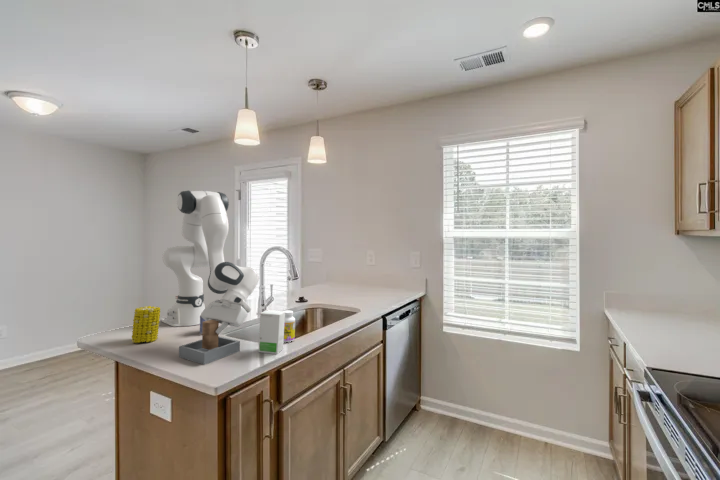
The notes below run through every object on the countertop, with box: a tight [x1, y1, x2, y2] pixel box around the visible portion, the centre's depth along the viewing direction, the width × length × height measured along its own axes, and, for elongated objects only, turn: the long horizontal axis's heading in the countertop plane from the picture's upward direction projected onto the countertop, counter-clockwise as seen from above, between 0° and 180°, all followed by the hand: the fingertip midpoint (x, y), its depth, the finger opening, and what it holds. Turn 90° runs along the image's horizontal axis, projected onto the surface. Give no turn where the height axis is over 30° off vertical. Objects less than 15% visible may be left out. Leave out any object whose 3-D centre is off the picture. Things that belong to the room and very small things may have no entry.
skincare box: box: [257, 309, 285, 355], centre depth 134 cm, size 8×7×16 cm
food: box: [131, 305, 161, 344], centre depth 143 cm, size 15×12×10 cm
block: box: [201, 320, 220, 350], centre depth 129 cm, size 4×4×10 cm
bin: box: [178, 335, 241, 365], centre depth 129 cm, size 14×16×4 cm
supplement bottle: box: [283, 309, 296, 344], centre depth 147 cm, size 7×7×13 cm
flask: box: [199, 315, 206, 336], centre depth 156 cm, size 9×3×11 cm, turn 172°
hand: (211, 331), depth 129 cm, fingers closed on block, 4 cm apart
